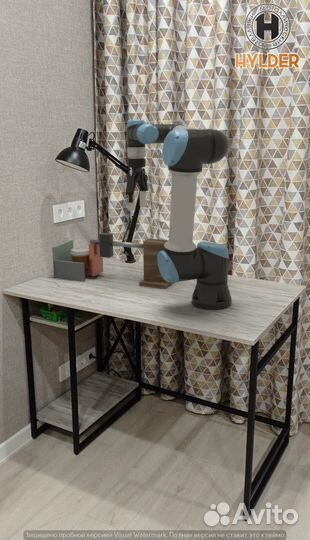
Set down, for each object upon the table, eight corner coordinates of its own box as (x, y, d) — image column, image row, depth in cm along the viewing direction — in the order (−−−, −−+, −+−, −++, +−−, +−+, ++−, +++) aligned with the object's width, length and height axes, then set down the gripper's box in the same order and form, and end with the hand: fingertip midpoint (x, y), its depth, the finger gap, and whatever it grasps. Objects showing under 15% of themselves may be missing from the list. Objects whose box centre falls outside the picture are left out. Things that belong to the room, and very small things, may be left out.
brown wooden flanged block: (165, 289, 220) (166, 244, 215) (139, 286, 225) (138, 242, 219) (175, 281, 231) (175, 238, 226) (149, 278, 235) (149, 236, 230)
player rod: (148, 282, 225) (148, 239, 220) (85, 275, 235) (83, 234, 230) (155, 277, 232) (155, 235, 227) (93, 270, 243) (92, 230, 238)
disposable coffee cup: (94, 272, 245) (93, 247, 242) (90, 278, 236) (89, 252, 232) (73, 272, 246) (72, 246, 242) (69, 278, 236) (67, 251, 233)
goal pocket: (83, 281, 231) (82, 250, 228) (54, 277, 237) (52, 247, 233) (101, 271, 246) (100, 242, 242) (72, 268, 251) (71, 239, 248)
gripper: (138, 156, 236) (139, 204, 241) (116, 159, 213) (118, 212, 219) (154, 156, 234) (155, 204, 239) (134, 159, 211) (135, 212, 216)
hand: (137, 208), depth 229 cm, fingers open, 13 cm apart
